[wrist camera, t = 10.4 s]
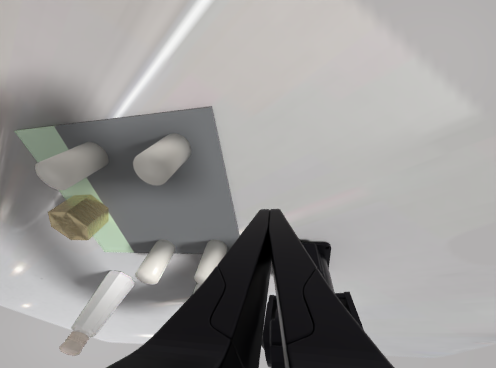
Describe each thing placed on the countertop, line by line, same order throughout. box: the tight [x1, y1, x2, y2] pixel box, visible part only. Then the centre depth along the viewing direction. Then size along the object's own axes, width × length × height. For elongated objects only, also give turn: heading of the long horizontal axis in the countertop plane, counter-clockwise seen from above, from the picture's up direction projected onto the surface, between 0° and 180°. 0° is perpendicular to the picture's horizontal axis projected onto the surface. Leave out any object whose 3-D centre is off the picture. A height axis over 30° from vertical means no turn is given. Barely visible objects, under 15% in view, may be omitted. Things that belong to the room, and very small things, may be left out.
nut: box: [48, 195, 109, 240], centre depth 25 cm, size 5×5×4 cm
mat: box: [14, 106, 240, 254], centre depth 25 cm, size 20×23×1 cm
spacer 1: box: [35, 142, 109, 190], centre depth 20 cm, size 3×3×5 cm
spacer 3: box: [135, 240, 175, 285], centre depth 27 cm, size 3×3×5 cm
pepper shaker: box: [59, 271, 135, 356], centre depth 32 cm, size 5×5×11 cm
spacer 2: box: [133, 133, 191, 185], centre depth 18 cm, size 3×3×5 cm
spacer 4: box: [194, 240, 227, 285], centre depth 26 cm, size 3×3×5 cm
